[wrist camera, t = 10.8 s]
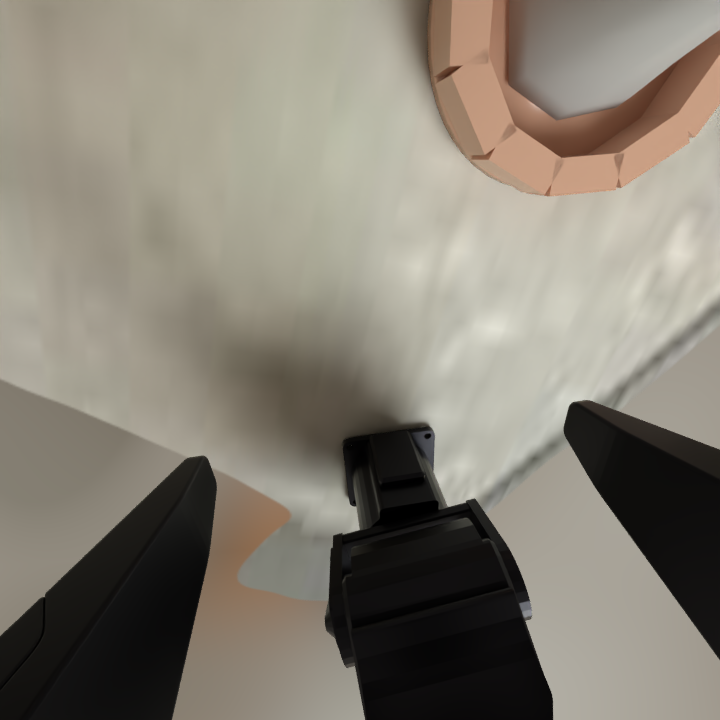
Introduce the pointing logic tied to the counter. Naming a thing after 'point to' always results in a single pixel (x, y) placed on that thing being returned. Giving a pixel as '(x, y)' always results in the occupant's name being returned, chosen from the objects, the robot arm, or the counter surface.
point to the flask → (599, 48)
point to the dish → (539, 130)
